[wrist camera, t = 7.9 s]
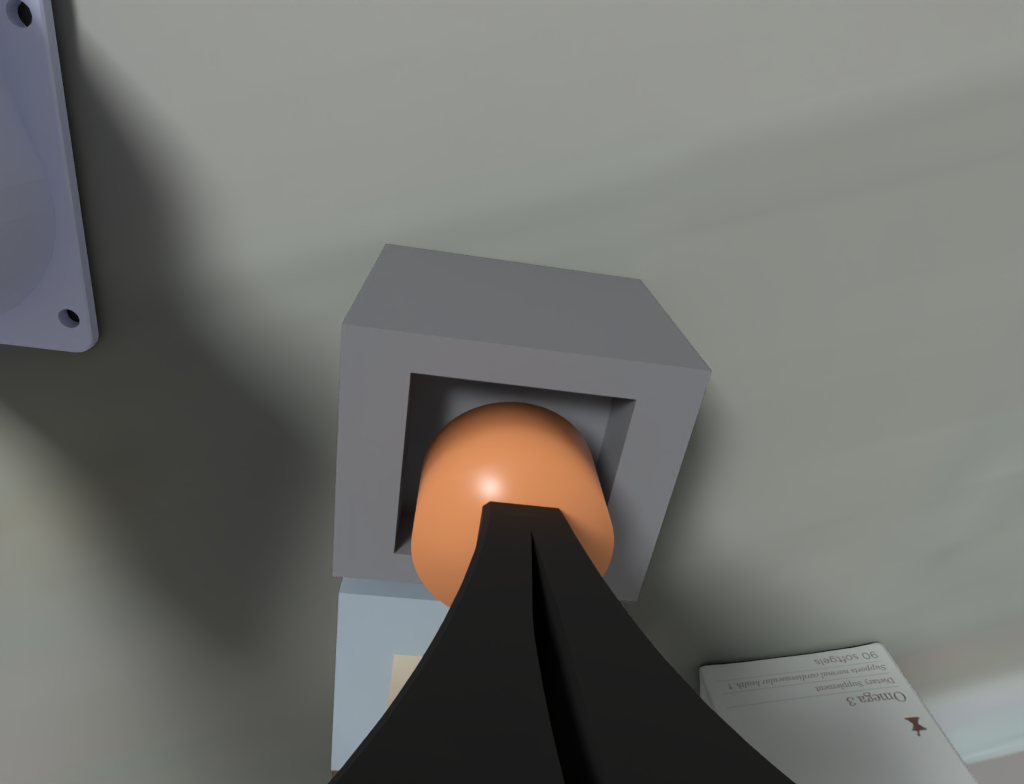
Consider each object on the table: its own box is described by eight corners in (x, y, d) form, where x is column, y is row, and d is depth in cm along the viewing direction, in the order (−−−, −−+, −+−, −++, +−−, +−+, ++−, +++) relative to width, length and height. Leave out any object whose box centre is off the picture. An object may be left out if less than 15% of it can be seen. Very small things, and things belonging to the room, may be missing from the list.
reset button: (430, 392, 12) (420, 452, 10) (610, 412, 13) (635, 475, 11) (414, 537, 14) (403, 615, 12) (575, 552, 14) (590, 629, 12)
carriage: (354, 534, 18) (303, 723, 12) (600, 556, 18) (646, 743, 13) (345, 703, 21) (300, 910, 16) (555, 716, 21) (579, 918, 16)
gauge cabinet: (385, 244, 17) (342, 324, 11) (658, 282, 18) (736, 373, 12) (373, 437, 19) (332, 576, 14) (610, 463, 20) (657, 603, 15)
